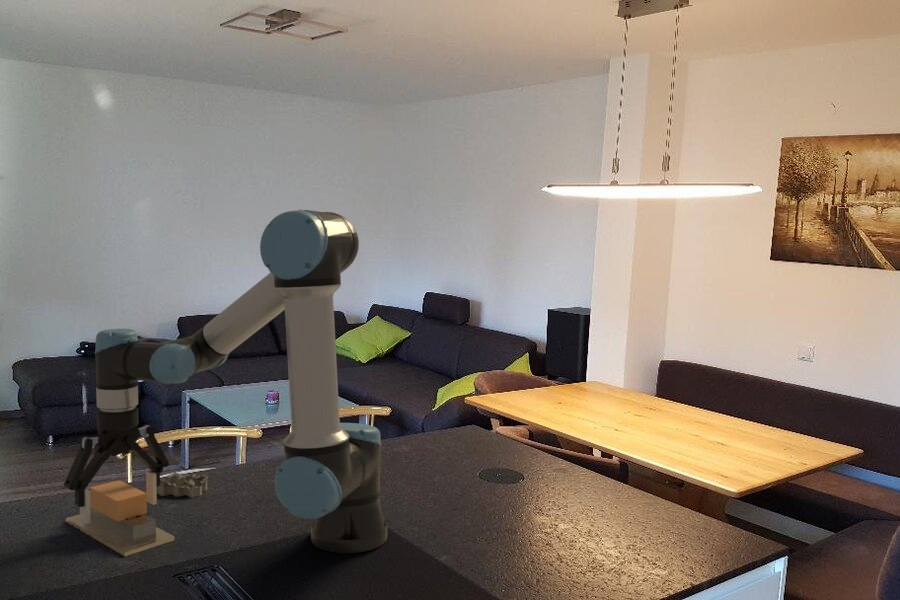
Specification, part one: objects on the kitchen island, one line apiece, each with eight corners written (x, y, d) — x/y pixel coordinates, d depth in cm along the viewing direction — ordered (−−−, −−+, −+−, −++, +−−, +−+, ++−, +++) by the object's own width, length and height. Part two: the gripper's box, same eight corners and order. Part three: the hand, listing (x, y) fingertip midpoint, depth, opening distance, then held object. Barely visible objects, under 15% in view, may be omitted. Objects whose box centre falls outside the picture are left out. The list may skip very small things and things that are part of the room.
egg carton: (152, 496, 169) (152, 479, 169) (168, 485, 177) (168, 468, 176) (197, 499, 168) (197, 481, 168) (211, 488, 176) (211, 471, 175)
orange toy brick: (147, 527, 148) (146, 493, 148) (117, 536, 144) (117, 501, 143) (119, 513, 155) (119, 480, 155) (90, 521, 151) (90, 487, 150)
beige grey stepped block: (174, 540, 146) (174, 518, 145) (124, 556, 138) (124, 534, 138) (113, 508, 161) (113, 489, 160) (66, 521, 153) (65, 501, 153)
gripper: (166, 394, 159) (167, 491, 161) (42, 415, 140) (45, 525, 142) (185, 400, 154) (186, 500, 156) (60, 422, 135) (63, 535, 137)
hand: (119, 512), depth 149 cm, fingers open, 13 cm apart
